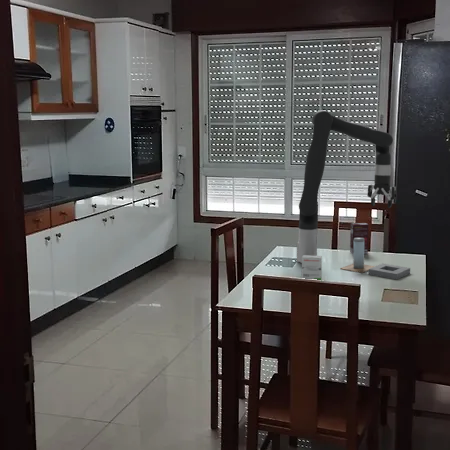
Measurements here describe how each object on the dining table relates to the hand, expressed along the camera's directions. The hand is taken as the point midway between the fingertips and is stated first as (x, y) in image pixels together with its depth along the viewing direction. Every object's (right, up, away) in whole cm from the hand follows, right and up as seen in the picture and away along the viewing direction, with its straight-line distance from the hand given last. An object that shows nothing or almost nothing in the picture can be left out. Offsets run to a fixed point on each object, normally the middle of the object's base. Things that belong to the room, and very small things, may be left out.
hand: (381, 206), depth 307 cm
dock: (0, -32, -17) cm, 36 cm away
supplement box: (-6, -24, +26) cm, 36 cm away
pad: (-13, -30, -6) cm, 33 cm away
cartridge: (-12, -29, -6) cm, 32 cm away
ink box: (-38, -35, -30) cm, 60 cm away
